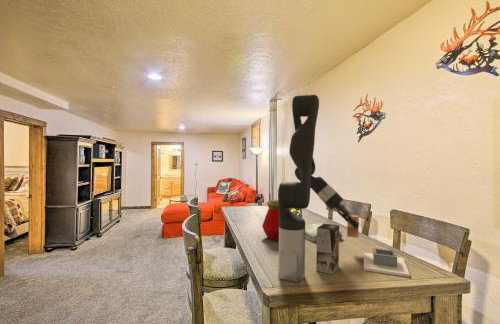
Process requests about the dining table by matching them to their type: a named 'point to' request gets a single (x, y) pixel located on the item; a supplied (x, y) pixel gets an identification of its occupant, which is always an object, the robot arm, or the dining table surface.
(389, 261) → the socket stand
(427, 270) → the dining table surface
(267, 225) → the bottle
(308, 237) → the towel
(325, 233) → the coffee box
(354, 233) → the peg
